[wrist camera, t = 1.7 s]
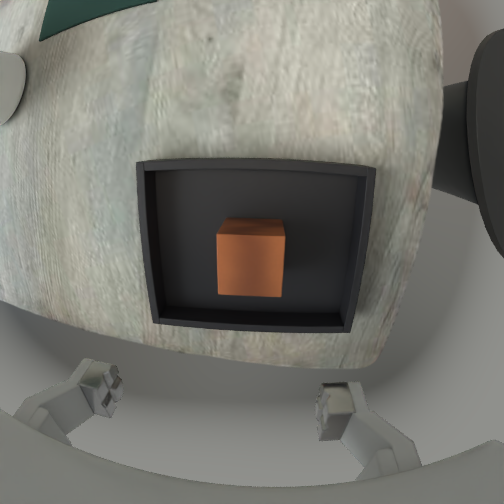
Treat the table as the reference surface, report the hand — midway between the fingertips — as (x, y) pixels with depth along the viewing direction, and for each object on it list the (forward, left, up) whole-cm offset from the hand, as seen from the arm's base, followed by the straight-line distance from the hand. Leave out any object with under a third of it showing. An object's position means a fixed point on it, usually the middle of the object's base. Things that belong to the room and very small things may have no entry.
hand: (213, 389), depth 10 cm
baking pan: (-1, 0, -18) cm, 18 cm away
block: (-1, 0, -17) cm, 17 cm away
